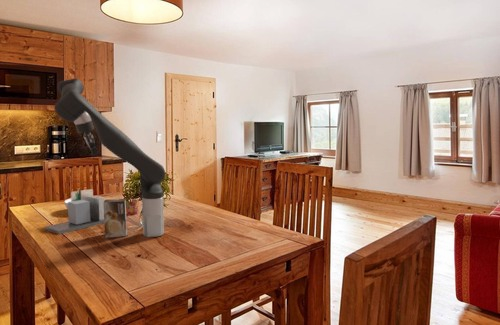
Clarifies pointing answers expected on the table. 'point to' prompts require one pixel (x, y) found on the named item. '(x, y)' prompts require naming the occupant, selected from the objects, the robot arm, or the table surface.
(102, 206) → the stand
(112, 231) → the coffee box
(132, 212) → the smoothie
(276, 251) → the table surface
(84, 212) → the grey box
